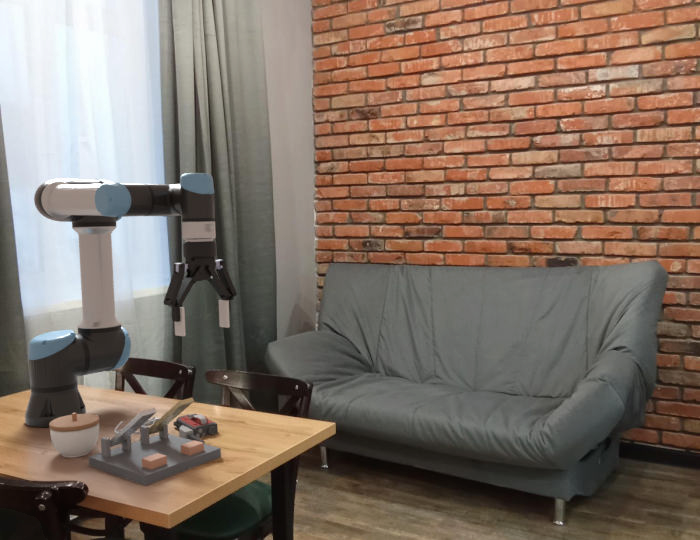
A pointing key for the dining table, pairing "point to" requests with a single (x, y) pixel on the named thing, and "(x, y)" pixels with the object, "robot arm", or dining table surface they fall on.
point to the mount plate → (156, 446)
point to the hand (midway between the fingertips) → (203, 331)
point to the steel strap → (132, 427)
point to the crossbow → (143, 424)
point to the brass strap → (170, 415)
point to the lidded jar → (74, 434)
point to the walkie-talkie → (195, 426)
